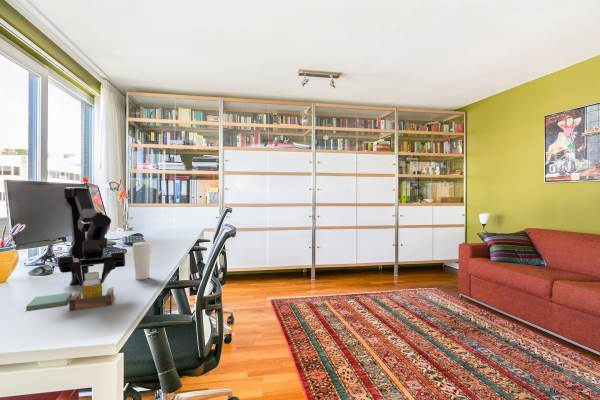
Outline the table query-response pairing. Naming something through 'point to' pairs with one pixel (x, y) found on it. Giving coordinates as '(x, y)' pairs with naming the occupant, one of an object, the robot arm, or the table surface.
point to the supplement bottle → (92, 285)
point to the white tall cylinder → (141, 259)
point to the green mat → (49, 301)
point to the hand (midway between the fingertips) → (91, 283)
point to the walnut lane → (90, 301)
